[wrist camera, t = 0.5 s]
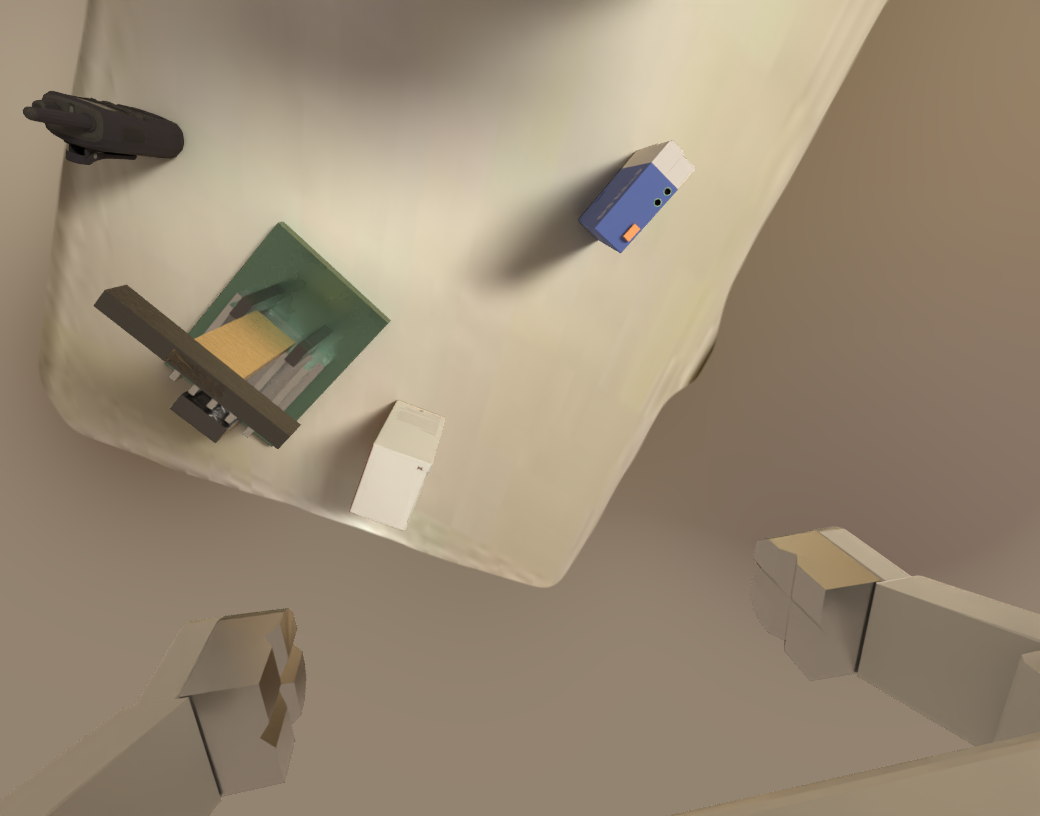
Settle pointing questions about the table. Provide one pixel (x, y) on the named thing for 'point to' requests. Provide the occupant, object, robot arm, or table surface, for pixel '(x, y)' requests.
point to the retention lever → (212, 357)
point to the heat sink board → (305, 304)
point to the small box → (398, 465)
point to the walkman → (636, 194)
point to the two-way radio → (105, 129)
